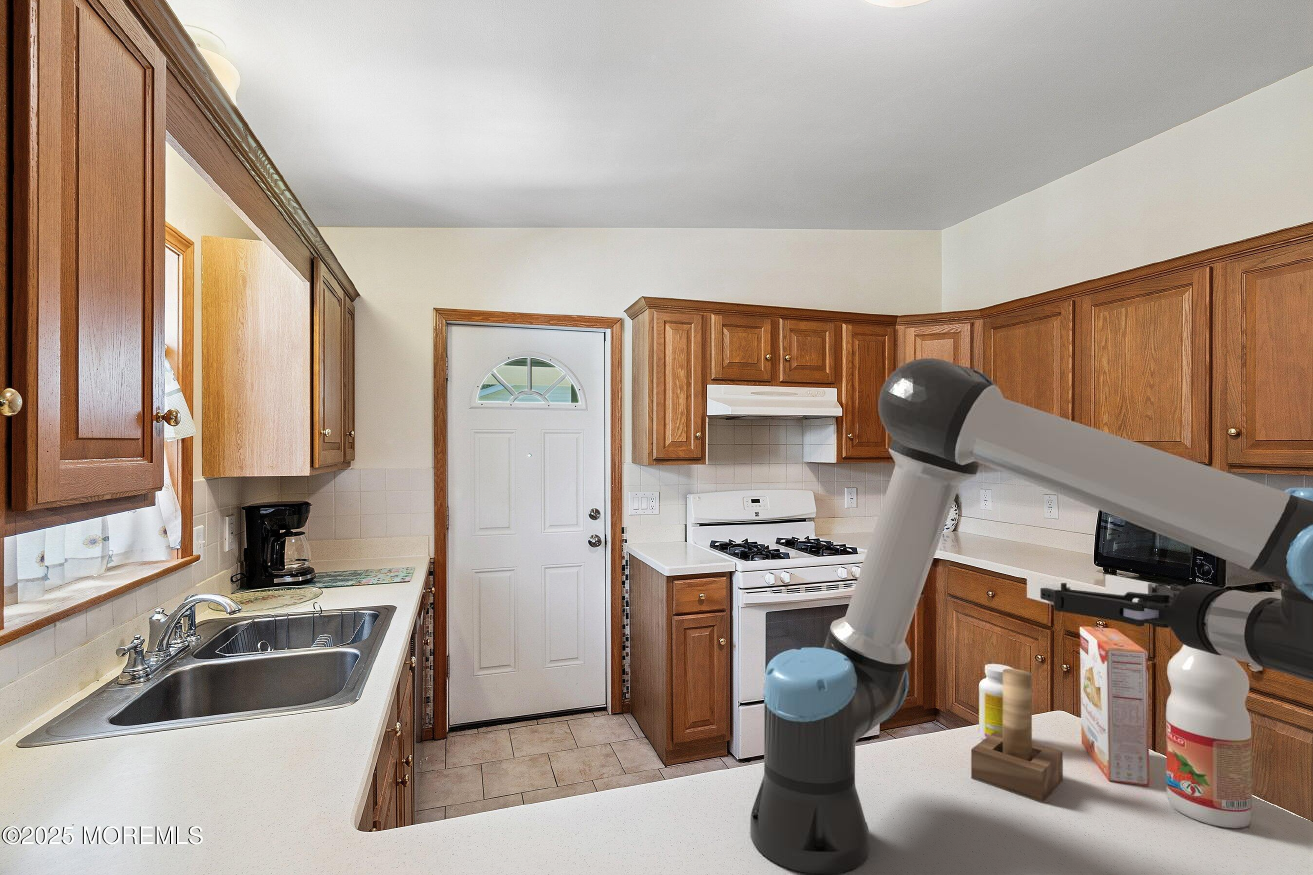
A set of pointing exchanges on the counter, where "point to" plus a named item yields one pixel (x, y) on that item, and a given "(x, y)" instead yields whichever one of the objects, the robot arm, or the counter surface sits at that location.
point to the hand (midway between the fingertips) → (1068, 585)
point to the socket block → (1017, 768)
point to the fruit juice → (1208, 739)
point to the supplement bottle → (991, 700)
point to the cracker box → (1115, 704)
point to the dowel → (1017, 713)
